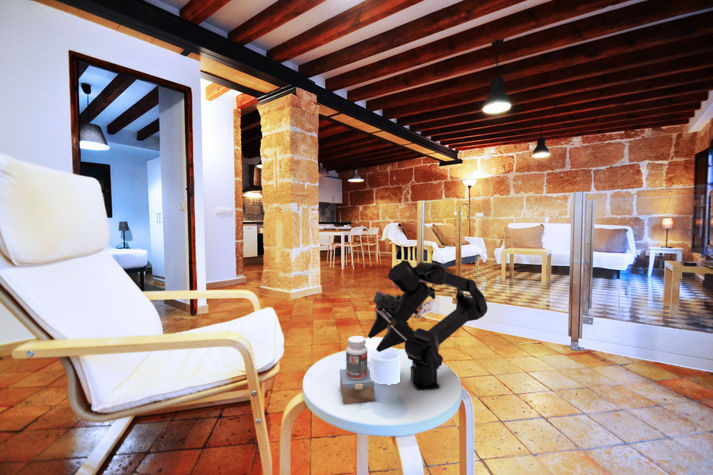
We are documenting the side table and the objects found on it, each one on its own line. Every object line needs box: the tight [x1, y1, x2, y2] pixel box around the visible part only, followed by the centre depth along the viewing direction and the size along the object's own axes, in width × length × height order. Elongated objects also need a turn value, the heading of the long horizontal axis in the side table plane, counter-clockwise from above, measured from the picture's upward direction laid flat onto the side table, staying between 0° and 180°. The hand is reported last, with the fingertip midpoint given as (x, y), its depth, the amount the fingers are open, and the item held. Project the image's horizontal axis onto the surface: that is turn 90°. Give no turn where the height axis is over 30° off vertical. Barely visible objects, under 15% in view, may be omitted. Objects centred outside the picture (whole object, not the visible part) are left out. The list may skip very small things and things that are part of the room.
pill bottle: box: [345, 335, 368, 380], centre depth 81 cm, size 6×6×10 cm
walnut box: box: [339, 376, 375, 405], centre depth 81 cm, size 8×8×4 cm
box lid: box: [339, 366, 375, 389], centre depth 81 cm, size 8×8×1 cm
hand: (372, 343), depth 82 cm, fingers open, 9 cm apart
